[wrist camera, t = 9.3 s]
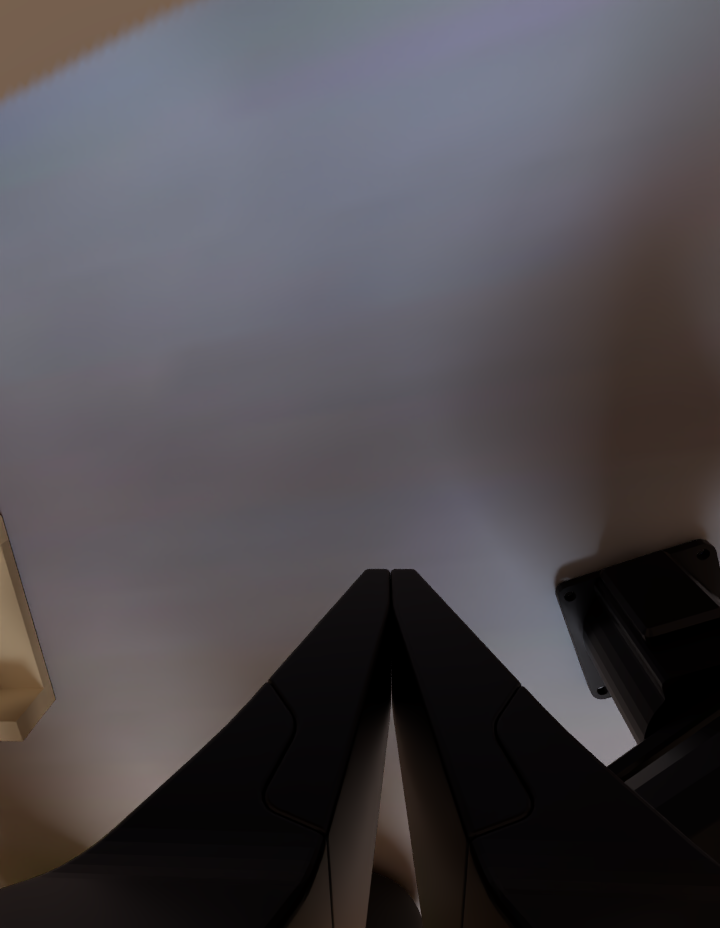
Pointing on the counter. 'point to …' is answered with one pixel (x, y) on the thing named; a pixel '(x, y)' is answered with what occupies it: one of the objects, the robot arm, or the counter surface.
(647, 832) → the robot arm
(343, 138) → the counter surface
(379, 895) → the cola bottle
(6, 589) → the rest
